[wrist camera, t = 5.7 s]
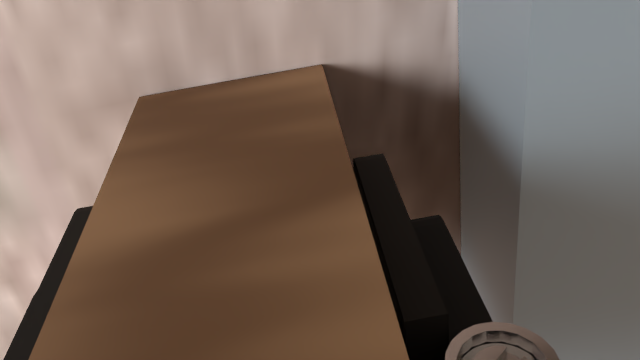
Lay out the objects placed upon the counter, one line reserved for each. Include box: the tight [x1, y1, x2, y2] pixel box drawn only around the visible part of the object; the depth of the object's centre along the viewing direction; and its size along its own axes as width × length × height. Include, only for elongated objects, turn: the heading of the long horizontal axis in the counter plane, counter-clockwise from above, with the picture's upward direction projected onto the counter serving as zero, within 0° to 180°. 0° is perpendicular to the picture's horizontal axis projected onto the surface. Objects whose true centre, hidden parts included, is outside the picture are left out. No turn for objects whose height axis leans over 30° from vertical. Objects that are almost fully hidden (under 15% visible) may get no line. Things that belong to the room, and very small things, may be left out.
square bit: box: [29, 65, 409, 360], centre depth 9 cm, size 4×4×10 cm
